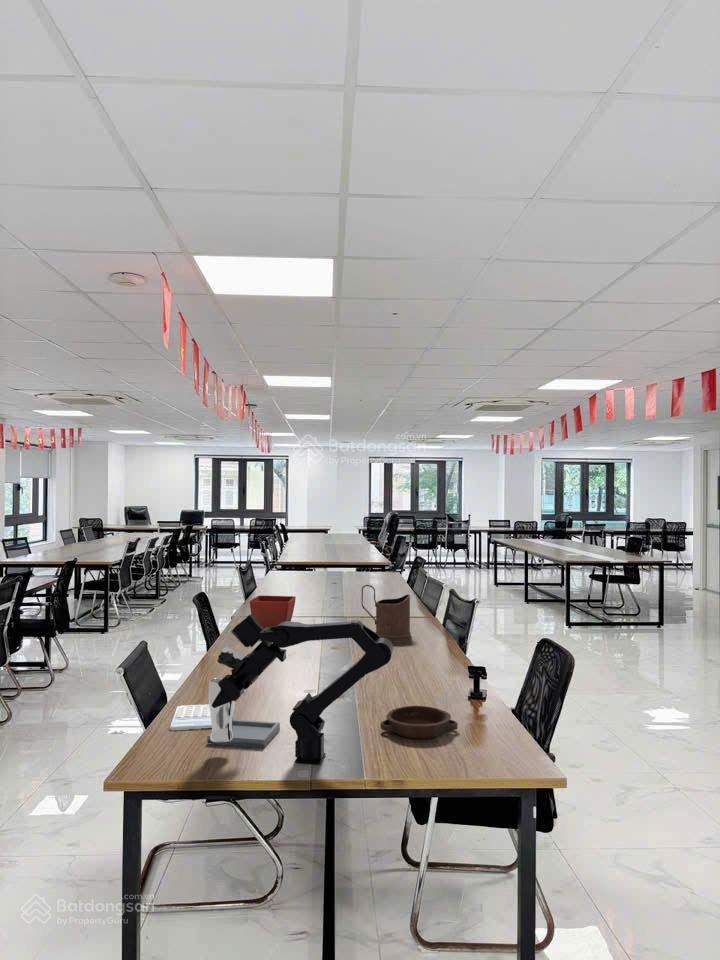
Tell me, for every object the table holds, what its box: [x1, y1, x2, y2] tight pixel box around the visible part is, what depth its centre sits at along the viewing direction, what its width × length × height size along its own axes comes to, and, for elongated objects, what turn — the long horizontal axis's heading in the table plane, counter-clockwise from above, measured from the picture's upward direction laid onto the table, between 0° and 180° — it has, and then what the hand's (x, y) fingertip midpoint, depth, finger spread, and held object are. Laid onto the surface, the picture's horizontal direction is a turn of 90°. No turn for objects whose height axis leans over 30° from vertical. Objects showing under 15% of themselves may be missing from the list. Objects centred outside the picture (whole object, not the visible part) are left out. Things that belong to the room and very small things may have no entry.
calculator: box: [169, 703, 212, 731], centre depth 207 cm, size 13×20×2 cm, turn 9°
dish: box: [379, 705, 459, 740], centre depth 196 cm, size 18×22×5 cm
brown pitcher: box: [361, 584, 413, 643], centre depth 323 cm, size 18×24×25 cm
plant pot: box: [249, 595, 297, 629], centre depth 334 cm, size 19×19×17 cm
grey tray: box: [206, 719, 281, 749], centre depth 191 cm, size 16×14×2 cm
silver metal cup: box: [208, 676, 237, 742], centre depth 178 cm, size 7×7×15 cm
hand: (217, 702), depth 179 cm, fingers closed on silver metal cup, 7 cm apart
